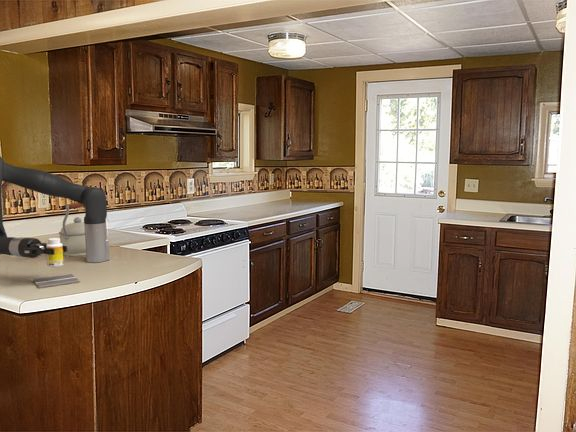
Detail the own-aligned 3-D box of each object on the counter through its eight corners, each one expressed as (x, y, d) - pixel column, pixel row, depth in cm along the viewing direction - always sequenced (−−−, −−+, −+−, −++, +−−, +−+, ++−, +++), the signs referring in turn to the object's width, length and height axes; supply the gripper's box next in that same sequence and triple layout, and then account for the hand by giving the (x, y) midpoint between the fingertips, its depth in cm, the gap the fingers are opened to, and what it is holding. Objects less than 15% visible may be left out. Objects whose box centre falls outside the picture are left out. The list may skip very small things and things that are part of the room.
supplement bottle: (66, 265, 191) (64, 238, 190) (51, 268, 187) (49, 240, 186) (60, 263, 195) (58, 236, 194) (44, 265, 191) (43, 238, 190)
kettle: (83, 258, 238) (80, 205, 235) (48, 257, 242) (44, 204, 239) (112, 248, 263) (109, 199, 259) (80, 247, 266) (76, 199, 263)
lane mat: (71, 275, 205) (71, 273, 205) (79, 282, 193) (79, 280, 193) (32, 280, 197) (32, 279, 197) (39, 288, 185) (39, 286, 185)
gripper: (8, 240, 188) (44, 243, 182) (39, 234, 202) (74, 237, 196) (10, 260, 189) (45, 264, 183) (41, 253, 202) (75, 256, 197)
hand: (60, 250), depth 190 cm, fingers closed on supplement bottle, 5 cm apart
